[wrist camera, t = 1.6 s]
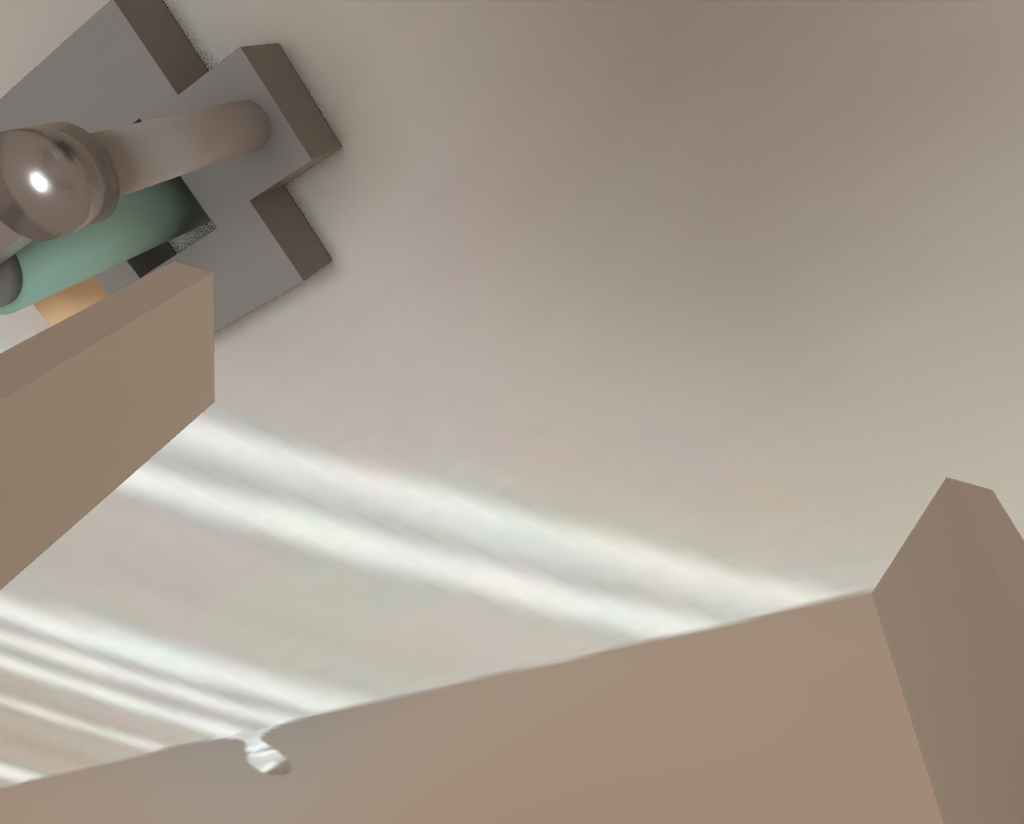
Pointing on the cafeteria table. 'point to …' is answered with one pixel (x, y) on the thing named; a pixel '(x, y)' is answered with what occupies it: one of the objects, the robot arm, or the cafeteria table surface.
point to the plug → (99, 244)
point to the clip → (52, 184)
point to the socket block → (191, 143)
